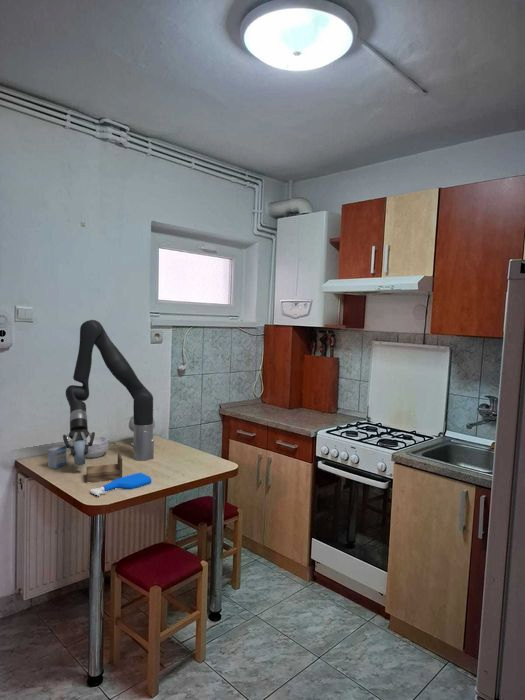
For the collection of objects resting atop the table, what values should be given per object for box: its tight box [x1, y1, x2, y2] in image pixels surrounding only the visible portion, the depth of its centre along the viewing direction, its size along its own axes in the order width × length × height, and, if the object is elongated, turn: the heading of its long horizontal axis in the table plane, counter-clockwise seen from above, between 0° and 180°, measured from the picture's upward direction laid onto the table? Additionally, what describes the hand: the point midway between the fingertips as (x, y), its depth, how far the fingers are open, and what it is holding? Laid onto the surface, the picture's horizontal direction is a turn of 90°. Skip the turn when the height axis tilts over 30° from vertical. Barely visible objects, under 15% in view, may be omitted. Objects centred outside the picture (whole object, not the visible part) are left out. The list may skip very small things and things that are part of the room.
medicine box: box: [47, 444, 68, 469], centre depth 220 cm, size 8×4×9 cm, turn 168°
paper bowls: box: [85, 436, 110, 459], centre depth 237 cm, size 15×15×8 cm
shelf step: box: [86, 452, 123, 483], centre depth 205 cm, size 14×10×9 cm
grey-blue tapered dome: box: [73, 440, 86, 466], centre depth 210 cm, size 5×5×10 cm
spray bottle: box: [90, 472, 152, 497], centre depth 194 cm, size 3×11×24 cm
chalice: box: [128, 415, 156, 447], centre depth 260 cm, size 14×14×15 cm
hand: (79, 454), depth 209 cm, fingers closed on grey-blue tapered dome, 4 cm apart
